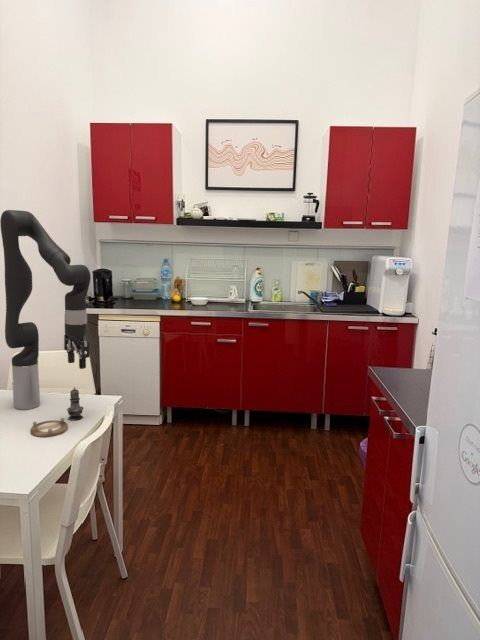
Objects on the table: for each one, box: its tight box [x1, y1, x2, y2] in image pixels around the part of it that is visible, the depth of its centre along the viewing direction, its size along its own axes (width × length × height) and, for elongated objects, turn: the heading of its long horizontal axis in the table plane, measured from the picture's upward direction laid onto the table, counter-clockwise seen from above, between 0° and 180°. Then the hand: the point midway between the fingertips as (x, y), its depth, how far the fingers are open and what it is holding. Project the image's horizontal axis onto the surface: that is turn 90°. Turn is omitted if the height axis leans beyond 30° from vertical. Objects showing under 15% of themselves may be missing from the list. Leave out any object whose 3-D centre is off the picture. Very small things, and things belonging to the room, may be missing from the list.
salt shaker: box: [66, 386, 84, 422], centre depth 167 cm, size 6×6×12 cm
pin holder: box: [30, 417, 69, 438], centre depth 157 cm, size 12×12×2 cm
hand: (76, 365), depth 163 cm, fingers open, 8 cm apart
